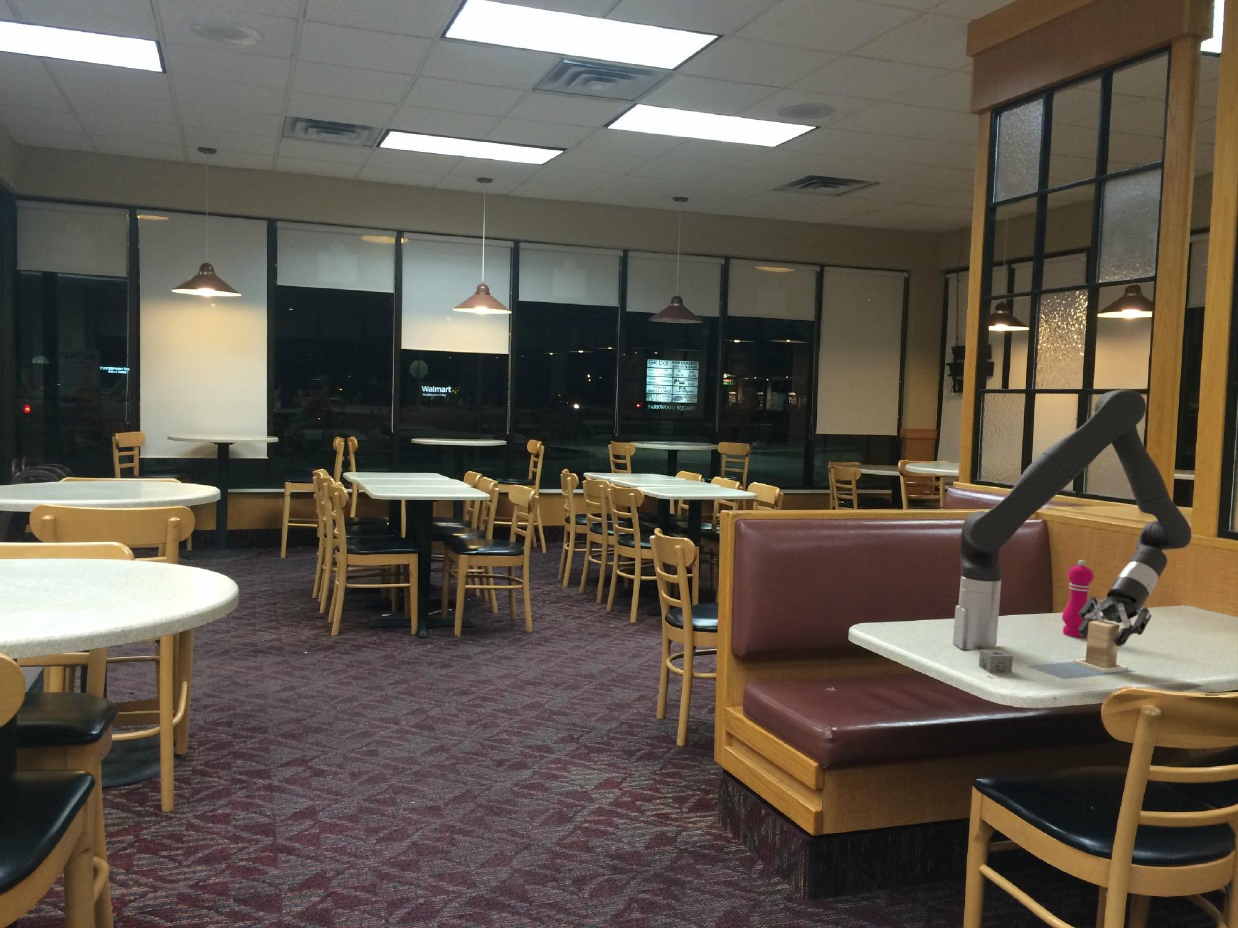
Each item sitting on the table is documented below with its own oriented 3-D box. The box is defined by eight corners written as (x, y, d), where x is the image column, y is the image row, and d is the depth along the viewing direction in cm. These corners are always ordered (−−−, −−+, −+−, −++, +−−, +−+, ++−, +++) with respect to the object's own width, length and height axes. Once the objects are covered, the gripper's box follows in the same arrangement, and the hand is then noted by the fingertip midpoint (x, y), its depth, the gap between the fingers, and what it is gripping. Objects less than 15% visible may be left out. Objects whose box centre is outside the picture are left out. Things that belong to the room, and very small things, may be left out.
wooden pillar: (1103, 670, 214) (1107, 626, 213) (1085, 665, 218) (1088, 621, 217) (1115, 668, 216) (1119, 624, 216) (1097, 663, 220) (1100, 620, 219)
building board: (1063, 684, 206) (1064, 674, 206) (1026, 671, 215) (1027, 662, 215) (1134, 676, 215) (1135, 667, 214) (1096, 664, 224) (1097, 656, 224)
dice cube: (989, 678, 208) (990, 655, 207) (978, 671, 213) (980, 649, 212) (1011, 678, 208) (1012, 656, 208) (1000, 672, 213) (1001, 650, 213)
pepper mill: (1087, 639, 249) (1094, 563, 247) (1057, 634, 253) (1063, 559, 252) (1093, 634, 255) (1099, 560, 253) (1064, 629, 259) (1070, 556, 258)
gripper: (1098, 569, 225) (1064, 621, 220) (1158, 581, 213) (1123, 636, 208) (1109, 590, 229) (1076, 642, 223) (1169, 603, 216) (1135, 657, 211)
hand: (1099, 639), depth 216 cm, fingers open, 8 cm apart
